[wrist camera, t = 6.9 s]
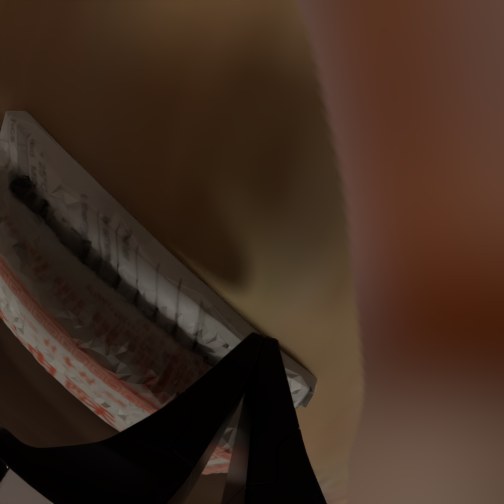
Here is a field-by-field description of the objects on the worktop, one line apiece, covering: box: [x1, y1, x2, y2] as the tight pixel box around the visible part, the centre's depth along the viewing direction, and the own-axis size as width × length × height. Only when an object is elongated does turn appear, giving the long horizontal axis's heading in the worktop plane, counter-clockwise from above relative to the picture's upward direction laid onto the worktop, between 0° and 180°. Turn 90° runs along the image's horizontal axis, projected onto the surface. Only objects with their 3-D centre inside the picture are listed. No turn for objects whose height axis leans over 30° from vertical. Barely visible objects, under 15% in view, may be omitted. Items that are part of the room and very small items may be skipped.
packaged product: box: [0, 111, 317, 475], centre depth 11 cm, size 18×5×10 cm
